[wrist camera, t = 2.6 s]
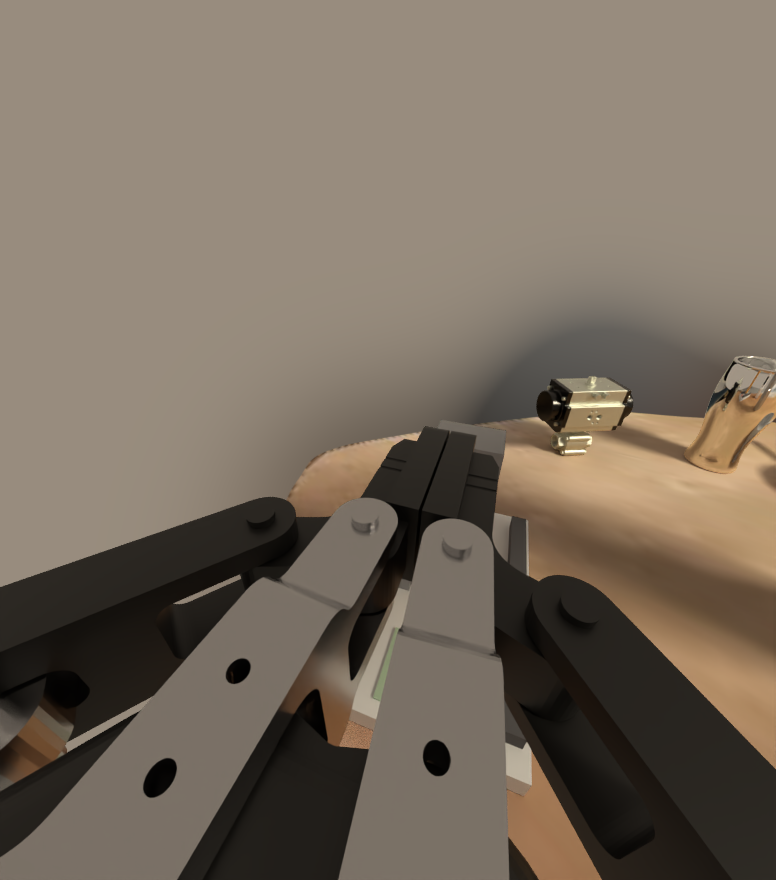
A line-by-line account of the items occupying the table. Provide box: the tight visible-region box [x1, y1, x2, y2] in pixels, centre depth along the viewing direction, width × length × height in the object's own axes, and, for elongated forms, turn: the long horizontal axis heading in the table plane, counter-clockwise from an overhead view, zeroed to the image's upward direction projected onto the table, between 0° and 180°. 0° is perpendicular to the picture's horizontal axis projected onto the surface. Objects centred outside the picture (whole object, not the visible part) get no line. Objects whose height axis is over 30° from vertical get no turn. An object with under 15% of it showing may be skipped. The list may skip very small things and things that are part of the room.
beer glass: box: [684, 356, 776, 474], centre depth 47 cm, size 7×7×15 cm
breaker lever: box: [437, 420, 506, 479], centre depth 26 cm, size 3×5×15 cm, turn 71°
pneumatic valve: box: [536, 376, 633, 456], centre depth 49 cm, size 6×12×12 cm, turn 95°
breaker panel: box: [349, 513, 532, 796], centre depth 30 cm, size 22×14×4 cm, turn 161°
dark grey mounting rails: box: [504, 516, 527, 749], centre depth 30 cm, size 19×13×1 cm
